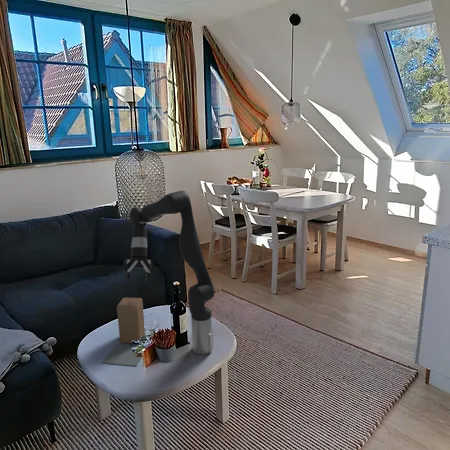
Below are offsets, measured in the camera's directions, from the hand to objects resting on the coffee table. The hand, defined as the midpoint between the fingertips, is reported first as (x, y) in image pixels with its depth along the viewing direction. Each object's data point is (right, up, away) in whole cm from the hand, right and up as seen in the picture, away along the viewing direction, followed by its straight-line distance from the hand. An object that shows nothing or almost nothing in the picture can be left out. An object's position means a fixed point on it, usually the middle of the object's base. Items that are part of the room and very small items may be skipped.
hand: (138, 280), depth 191 cm
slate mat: (-4, -33, -9) cm, 34 cm away
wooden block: (-4, -29, +5) cm, 30 cm away
